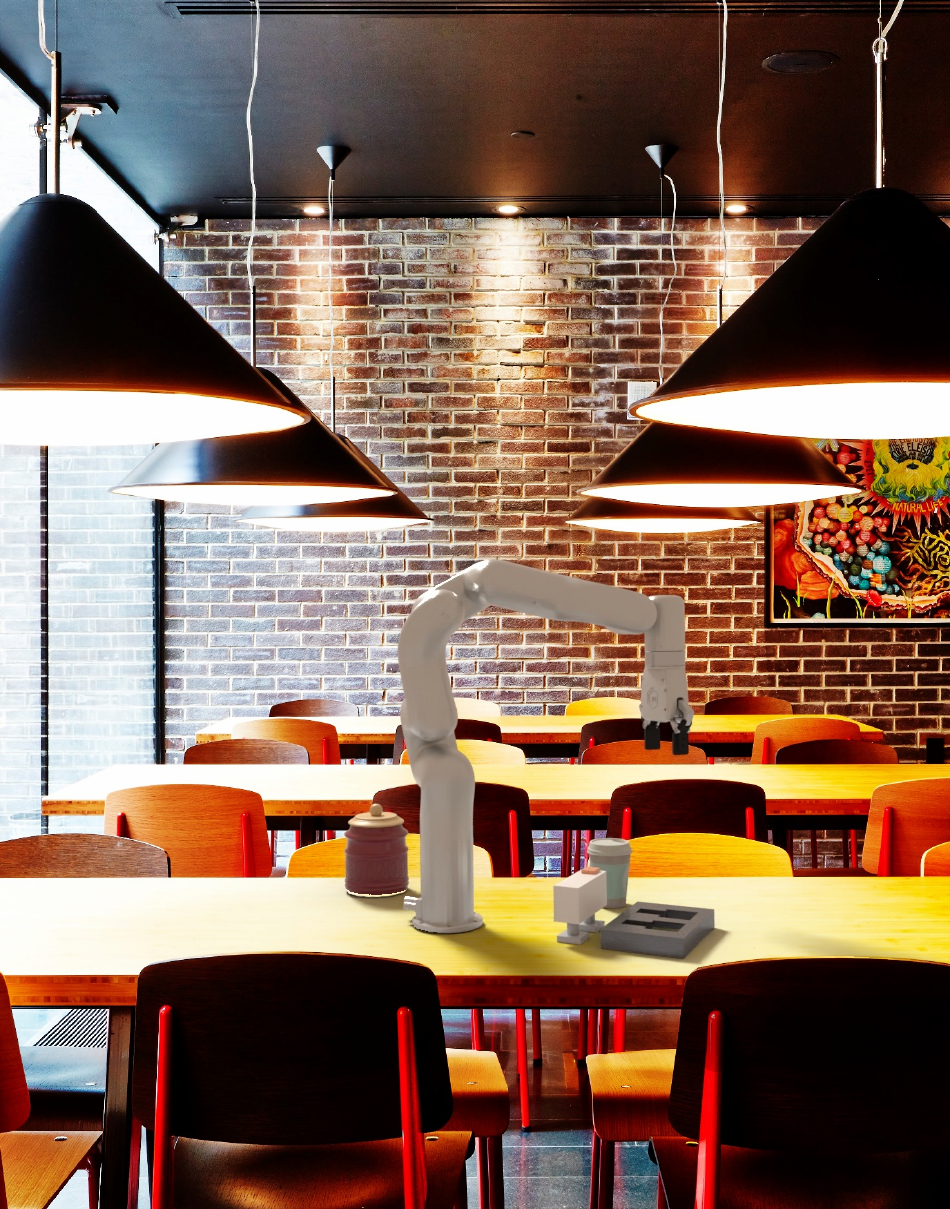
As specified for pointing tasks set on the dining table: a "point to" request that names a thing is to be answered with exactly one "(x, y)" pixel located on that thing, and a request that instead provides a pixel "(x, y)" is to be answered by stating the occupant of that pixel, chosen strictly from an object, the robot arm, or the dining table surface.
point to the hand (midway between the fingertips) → (666, 752)
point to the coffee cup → (612, 867)
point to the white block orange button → (580, 904)
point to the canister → (376, 853)
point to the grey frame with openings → (639, 937)
